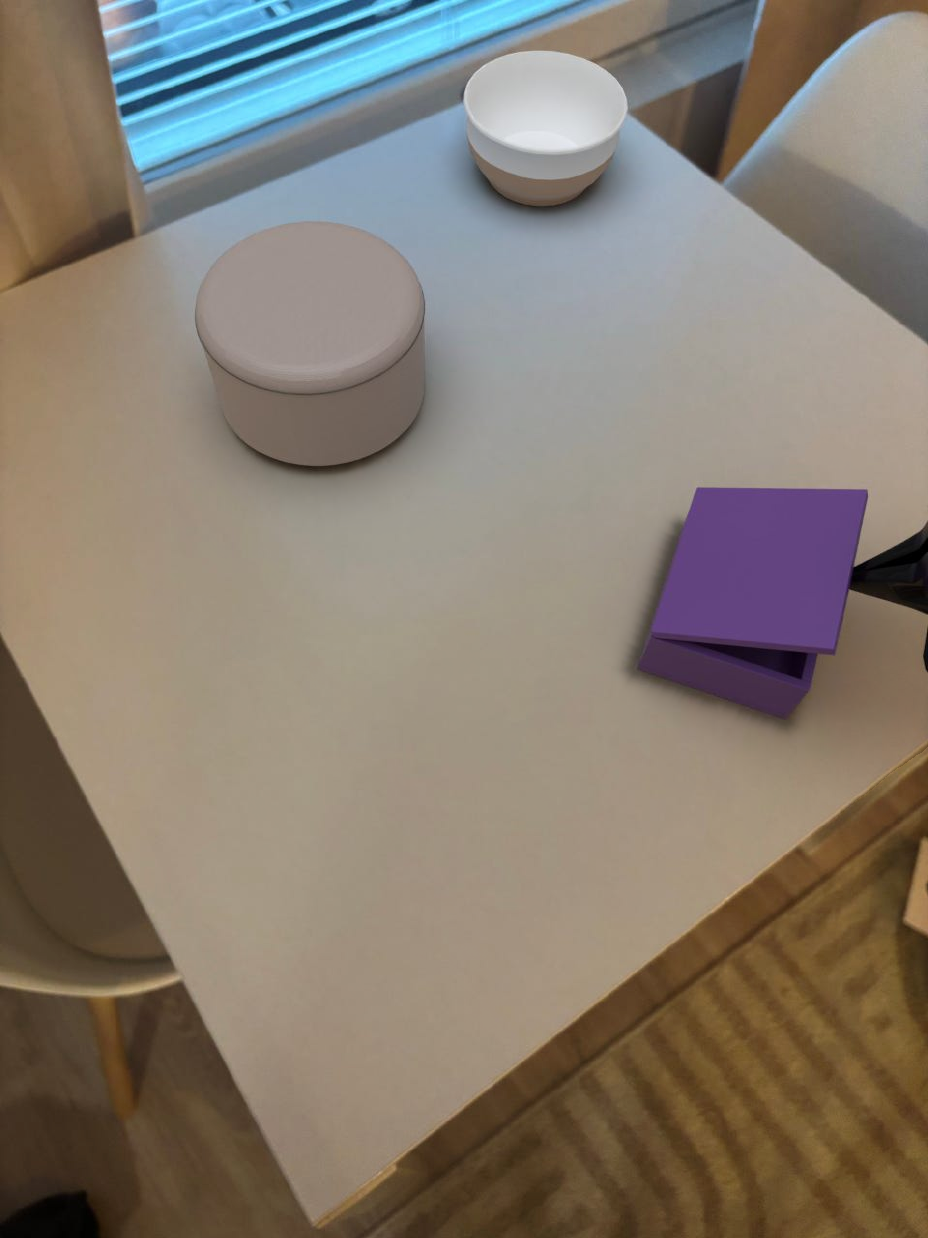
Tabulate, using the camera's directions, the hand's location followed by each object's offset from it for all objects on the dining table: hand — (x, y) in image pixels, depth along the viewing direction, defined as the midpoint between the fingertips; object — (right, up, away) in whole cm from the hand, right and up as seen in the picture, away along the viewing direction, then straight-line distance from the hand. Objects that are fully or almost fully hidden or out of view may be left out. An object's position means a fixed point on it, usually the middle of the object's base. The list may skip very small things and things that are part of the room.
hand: (845, 580), depth 64 cm
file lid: (-5, +1, +2) cm, 6 cm away
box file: (-5, -3, +9) cm, 11 cm away
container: (-38, +17, +19) cm, 46 cm away
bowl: (-18, +44, +34) cm, 58 cm away
